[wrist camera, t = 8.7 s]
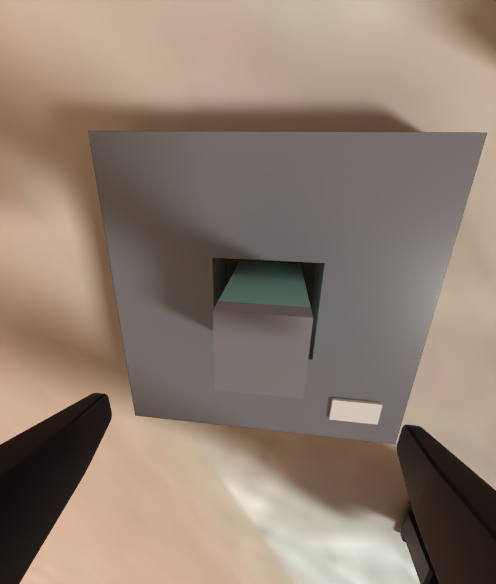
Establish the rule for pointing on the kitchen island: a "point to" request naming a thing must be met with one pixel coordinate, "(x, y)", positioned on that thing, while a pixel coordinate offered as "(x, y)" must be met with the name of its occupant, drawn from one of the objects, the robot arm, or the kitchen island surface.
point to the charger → (263, 331)
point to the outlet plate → (282, 247)
